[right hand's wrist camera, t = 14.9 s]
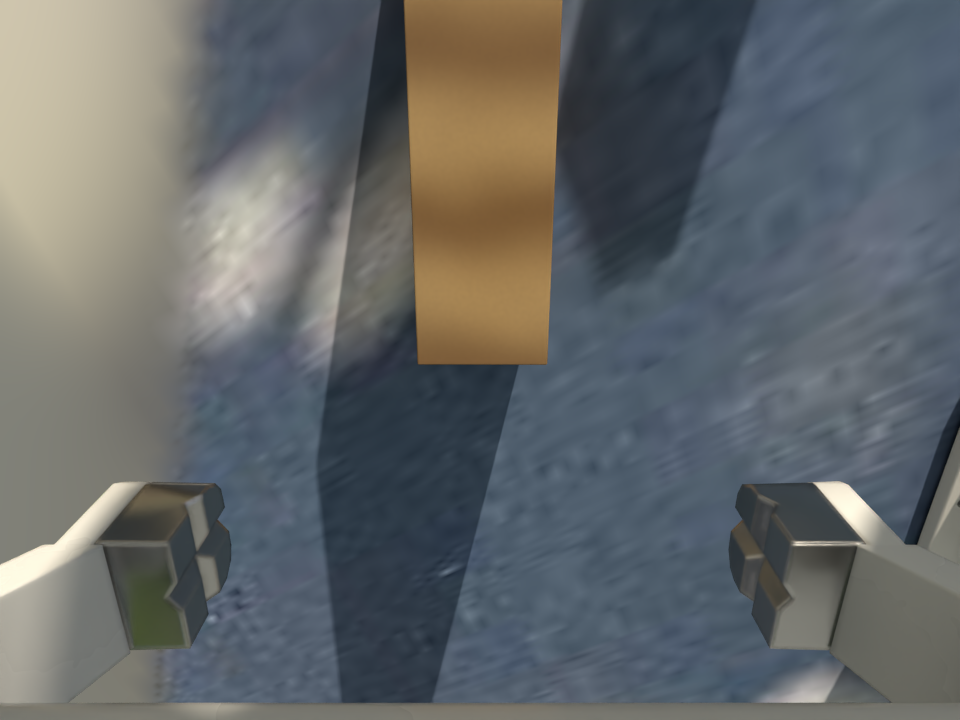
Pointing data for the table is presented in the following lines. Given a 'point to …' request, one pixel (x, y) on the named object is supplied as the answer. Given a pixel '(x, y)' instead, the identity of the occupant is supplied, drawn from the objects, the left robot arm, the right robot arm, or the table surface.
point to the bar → (482, 176)
